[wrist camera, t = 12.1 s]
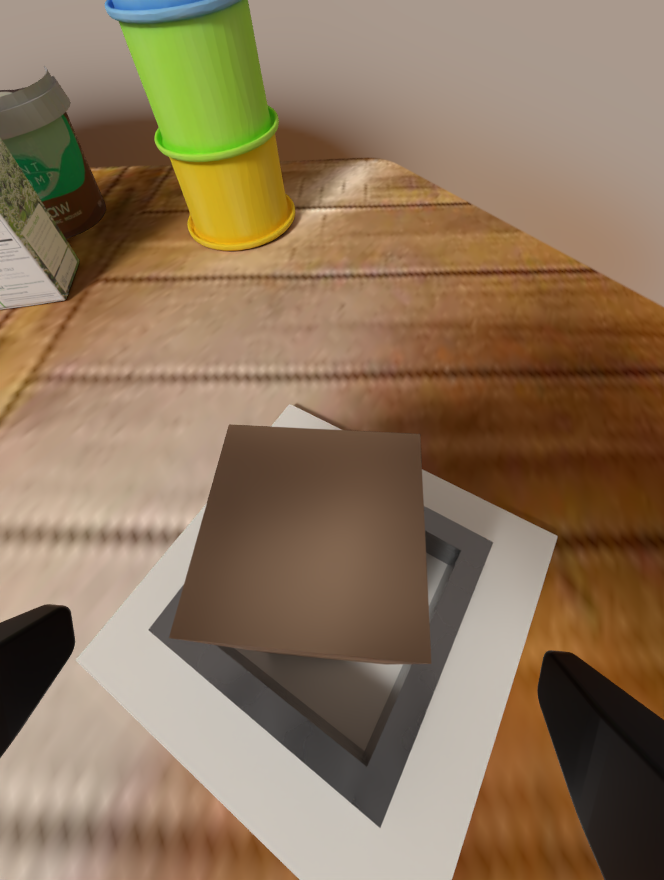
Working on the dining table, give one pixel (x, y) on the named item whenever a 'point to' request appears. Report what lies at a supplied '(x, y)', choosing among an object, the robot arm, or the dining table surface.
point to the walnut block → (312, 548)
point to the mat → (340, 707)
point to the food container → (51, 154)
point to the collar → (383, 761)
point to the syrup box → (29, 244)
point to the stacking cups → (211, 115)
